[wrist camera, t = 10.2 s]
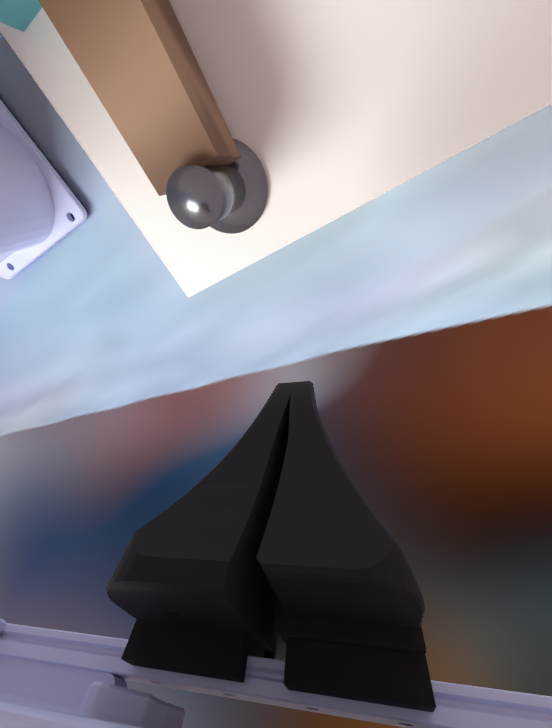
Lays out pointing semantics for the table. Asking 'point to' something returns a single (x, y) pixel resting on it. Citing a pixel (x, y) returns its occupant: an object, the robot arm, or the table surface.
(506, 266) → the table surface
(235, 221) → the board
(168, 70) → the folding leg
